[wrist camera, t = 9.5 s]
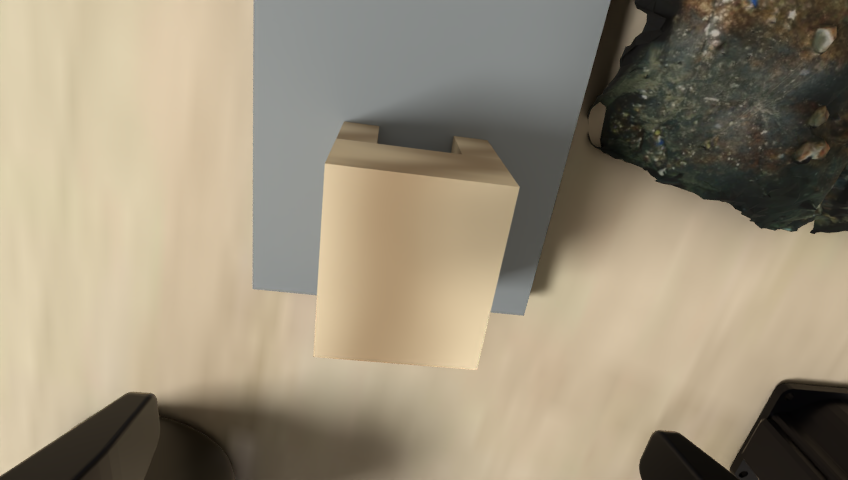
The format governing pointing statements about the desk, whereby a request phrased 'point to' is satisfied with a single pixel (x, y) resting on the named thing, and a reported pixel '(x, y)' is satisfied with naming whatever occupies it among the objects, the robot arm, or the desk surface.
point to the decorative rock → (739, 106)
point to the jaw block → (410, 250)
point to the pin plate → (413, 109)
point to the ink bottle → (187, 455)
